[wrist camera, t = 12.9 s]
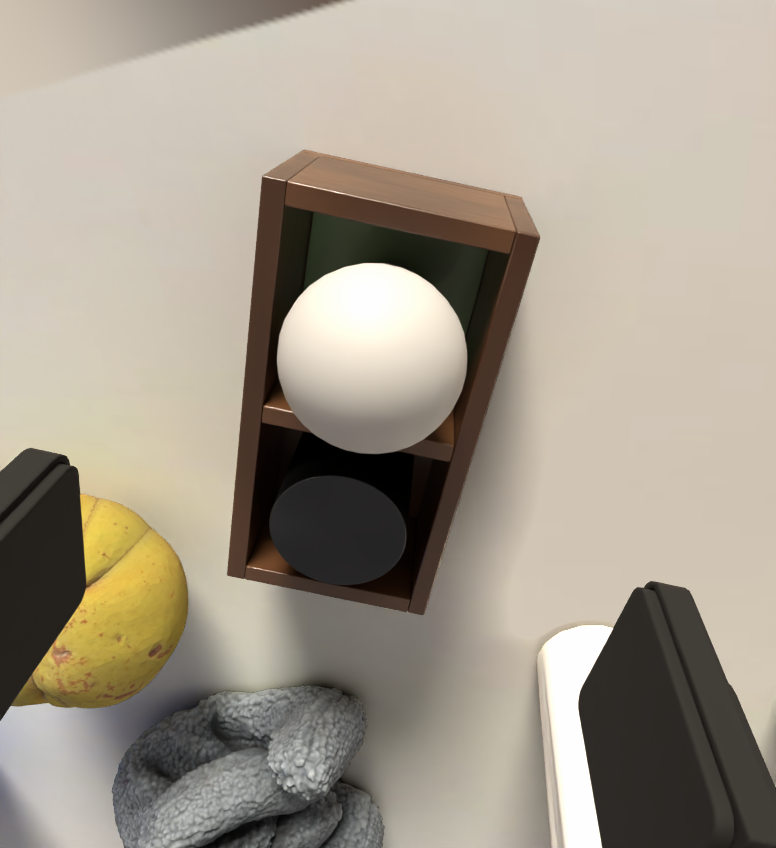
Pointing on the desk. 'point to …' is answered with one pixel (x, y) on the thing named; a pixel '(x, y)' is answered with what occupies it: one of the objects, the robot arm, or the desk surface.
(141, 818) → the koala plush
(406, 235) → the compartment box
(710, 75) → the desk surface
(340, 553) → the tin
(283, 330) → the lightbulb
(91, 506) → the fruit
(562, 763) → the cup
